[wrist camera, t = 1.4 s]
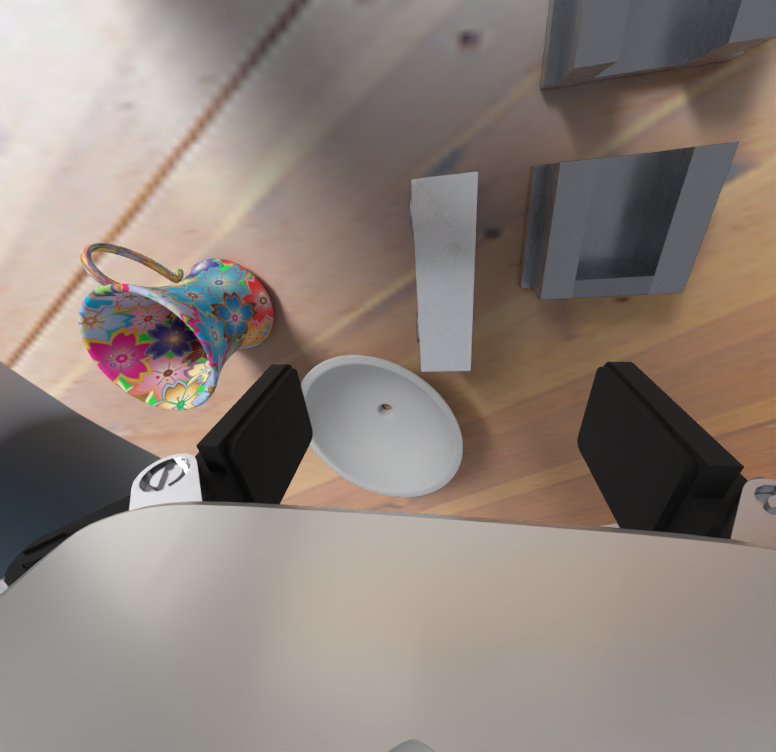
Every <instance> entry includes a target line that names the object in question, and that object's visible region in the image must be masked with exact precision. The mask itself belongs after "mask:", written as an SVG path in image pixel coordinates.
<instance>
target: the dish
mask: <svg viewBox="0 0 776 752" xmlns="http://www.w3.org/2000/svg"><path fill="white" fill-rule="evenodd" d="M301 388H302V392H303V395H304V399H305V403H306V407H307V411H308V414H309V418H310V422H311V426H312V430H313V437H312V441H311V443H310V446H311V447H312V449H313V450H314V451H315V453H316V454H317V455H318V456H319V457H320V458H321V459H322V461H323V462H324V463H326V464H327V465H328V466H329V467H330V468H331V469H332V470H334V471H335V472H336V473H337V474H339V475H340V476H342V477H343V478H345V479H346V480H348V481H350V482H352V483H353V484H355V485H357V486H359V487H362V488H364V489H366V490H369V491H372V492H375V493H379V494H382V495H387V496H394V497H417V496H422V495H426V494H429V493H432V492H434V491H437V490H438V489H440V488H442V487H443V486H445V485H446V484H447V483H448V482H449V481H450V480H451V479H452V478H453V477H454V475H455V474H456V473H457V471H458V469H459V466H460V463H461V460H462V455H463V439H462V434H461V430H460V427H459V424H458V422H457V419H456V417H455V415H454V414H453V412H452V410H451V408H450V407H449V405H448V404H447V403H446V401H445V400H444V399H443V397H442V396H441V395H440V394H439V393H438V392H437V391H436V390H435V389H434V388H433V387H432V386H431V385H430V384H429V383H427V382H426V381H425V380H424V379H422V378H421V377H420V376H418V375H417V374H415V373H414V372H412V371H410V370H408V369H406V368H405V367H403V366H400V365H398V364H396V363H394V362H391V361H388V360H385V359H382V358H378V357H373V356H367V355H343V356H338V357H334V358H331V359H328V360H325V361H323V362H322V363H320V364H318V365H317V366H315V367H314V368H313V369H311V370H310V371H309V372H308V373H307V375H306V376H305V377H304V379H303V381H302V383H301ZM382 404H388V405H390V406H391V407H392V408H391V409H388V410H387V409H384V408H383V407H382Z"/></svg>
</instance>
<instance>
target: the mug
mask: <svg viewBox="0 0 776 752" xmlns="http://www.w3.org/2000/svg"><path fill="white" fill-rule="evenodd" d="M96 251H102V252H109V253H114V254H118V255H121V256H124V257H127V258H130V259H132V260H135V261H137V262H139V263H141V264H143V265H145V266H147V267H149V268H151V269H153V270H154V271H156V272H158V273H159V274H161V275H162V276H164V277H165V278H167V279H169V280H170V281H172V282H174V283H176V284H173V285H170V286H164V287H142V286H136V285H129V284H120V283H117V282H115V281H113V280H112V279H110V278H108V277H107V276H105V275H104V274H103V273H102V272H101V271H100V270H99V269H98V268H97V267H96V266H95V264H94V263H93V261H92V258H91V253H92V252H96ZM80 258H81V262H82V265H83V267H84V268H85V270H86V271H87V273H88V274H89V275H90V276H91V277H92V278H93V279H95V280H96V281H97V282H98V283H100V284H101V285H103V286H102V287H99V288H97V289H95V290H93V291H92V292H91V293H89V294H88V295H87V296H86V298H85V299H84V301H83V302H82V304H81V307H80V311H79V328H80V333H81V336H82V339H83V342H84V344H85V346H86V348H87V350H88V352H89V354H90V356H91V357H92V359H93V360H94V361H95V363H96V364H97V365H98V367H99V368H100V369H101V370H102V371H103V372H104V374H105V375H106V376H107V377H108V378H109V379H110V380H112V381H113V382H114V383H115V384H116V385H117V386H119V387H120V388H121V389H123V390H124V391H126V392H127V393H129V394H130V395H132V396H133V397H135V398H137V399H139V400H141V401H143V402H145V403H148V404H150V405H153V406H156V407H160V408H164V409H169V410H187V409H192V408H195V407H197V406H200V405H201V404H203V403H205V402H206V401H207V400H208V399H209V398H210V397H211V396H212V394H213V393H214V391H215V388H216V386H217V382H218V378H219V374H220V372H221V369H222V367H223V365H224V364H225V362H226V361H227V359H228V358H229V357H230V356H231V355H232V354H233V353H235V352H236V351H238V350H240V349H247V348H252V347H255V346H257V345H259V344H260V343H262V342H263V341H264V340H265V339H266V338H267V337H268V335H269V334H270V332H271V329H272V326H273V321H274V313H273V307H272V303H271V300H270V298H269V295H268V293H267V292H266V290H265V288H264V287H263V285H262V284H261V283H260V282H259V280H258V279H257V278H256V277H255V276H254V275H253V274H252V273H250V272H249V271H248V270H246V269H245V268H244V267H242V266H240V265H238V264H236V263H234V262H231V261H228V260H223V259H207V260H203V261H201V262H199V263H197V264H196V265H194V266H193V267H192V268H191V269H190V270H189V271H188V273H187V275H186V277H185V279H184V280H182V278H183V270H182V269H178V270H177V271H176V272H175V274H174V273H173V272H171V271H170V270H168V269H167V268H165V267H164V266H162V265H161V264H159V263H157V262H156V261H154V260H152V259H150V258H148V257H146V256H144V255H142V254H140V253H137V252H135V251H133V250H130V249H127V248H124V247H121V246H117V245H113V244H107V243H93V244H89V245H87V246H86V247H85V248H84V249H83V250H82V252H81V256H80ZM181 280H182V281H181ZM180 281H181V282H180ZM178 282H179V283H178Z"/></svg>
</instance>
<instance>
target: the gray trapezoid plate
mask: <svg viewBox="0 0 776 752" xmlns="http://www.w3.org/2000/svg"><path fill="white" fill-rule="evenodd" d="M411 187H412V195H410V220H411V231H412V235H414V244H415V262H416V281H417V300H418V312H417V341H418V343H420V357H421V372H430V371H471V349H472V322H473V296H474V269H475V243H476V216H477V190H478V171H477V172H469V173H460V174H452V175H443V176H434V177H426V178H417V179H411Z"/></svg>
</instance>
